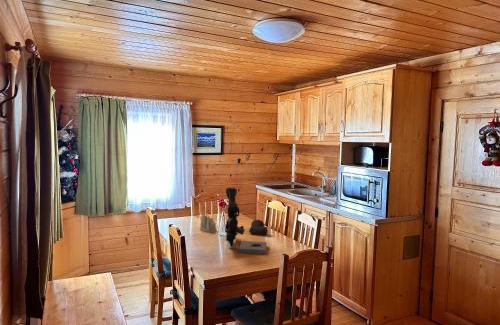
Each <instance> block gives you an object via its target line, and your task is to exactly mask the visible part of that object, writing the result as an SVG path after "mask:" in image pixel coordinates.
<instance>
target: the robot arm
mask: <svg viewBox="0 0 500 325" xmlns="http://www.w3.org/2000/svg"><path fill="white" fill-rule="evenodd" d="M225 194H226V197H227V199H228V203H227V204H228V206H227V212H226V213H227V217H228V218H227V220H226V221H225V222H226V223H225V226H224V227H225V228H224V232H225V233H226V235H225V241H228V244H229V243H230V246H231V247H232V246H233V241H234V239H235V238H236V239H237V237H236V236H237V235H238V234H240V235H242V236H243V235H244V233H245V230H246V229H245V228H244V225H241V226H239V225H238V224H239V222H238V221H239V220H238V217H239V216H240V213H241V212H240V208H239V206H238V203H237V202H236V196H237V194H238V189H237V188H236V187H227V188H225Z"/></svg>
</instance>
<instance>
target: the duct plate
mask: <svg viewBox="0 0 500 325" xmlns="http://www.w3.org/2000/svg"><path fill="white" fill-rule="evenodd" d="M240 242H241V243H240V245H239V247H238V254H247V255H249V254H251V255H266V252H267V245H268V243H267V241H255V240H254V241H253V240H252V241H251V240H242V241H240Z"/></svg>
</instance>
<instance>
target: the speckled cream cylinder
mask: <svg viewBox="0 0 500 325" xmlns="http://www.w3.org/2000/svg"><path fill="white" fill-rule="evenodd" d="M236 242H237V237H236V238H235V239H234V241H233V246H232V247H231V246H230V243H229V242H228V249H230V250H235V249H236V246H237V243H236Z"/></svg>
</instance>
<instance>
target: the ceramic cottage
mask: <svg viewBox="0 0 500 325" xmlns="http://www.w3.org/2000/svg"><path fill="white" fill-rule="evenodd" d="M199 231H201V232H204V233H215V232H218V230H217V227H216V222H215V221H214V219H213V217H210V216H207V215H206V214H205V212H202V215H201V217H200V227H199Z"/></svg>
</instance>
